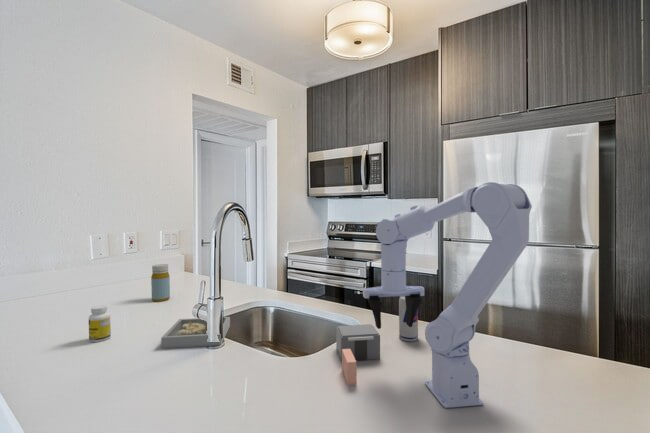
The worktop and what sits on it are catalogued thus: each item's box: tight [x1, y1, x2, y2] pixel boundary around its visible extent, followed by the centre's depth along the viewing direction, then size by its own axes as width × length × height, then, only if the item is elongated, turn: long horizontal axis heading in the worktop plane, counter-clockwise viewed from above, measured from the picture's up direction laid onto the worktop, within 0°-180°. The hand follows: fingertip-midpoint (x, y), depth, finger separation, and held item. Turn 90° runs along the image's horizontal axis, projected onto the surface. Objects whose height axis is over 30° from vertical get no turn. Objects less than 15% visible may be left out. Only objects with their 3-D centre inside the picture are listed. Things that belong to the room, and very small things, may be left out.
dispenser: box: [335, 323, 381, 362], centre depth 88 cm, size 9×10×6 cm
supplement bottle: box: [88, 304, 112, 343], centre depth 100 cm, size 5×5×10 cm
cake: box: [176, 322, 208, 336], centre depth 101 cm, size 10×10×5 cm
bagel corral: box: [160, 316, 231, 349], centre depth 102 cm, size 16×16×3 cm
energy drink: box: [398, 296, 419, 343], centre depth 98 cm, size 5×5×12 cm
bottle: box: [150, 263, 171, 303], centre depth 144 cm, size 7×7×15 cm
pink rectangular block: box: [341, 349, 358, 386], centre depth 76 cm, size 7×2×5 cm, turn 7°
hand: (393, 326), depth 80 cm, fingers open, 7 cm apart
